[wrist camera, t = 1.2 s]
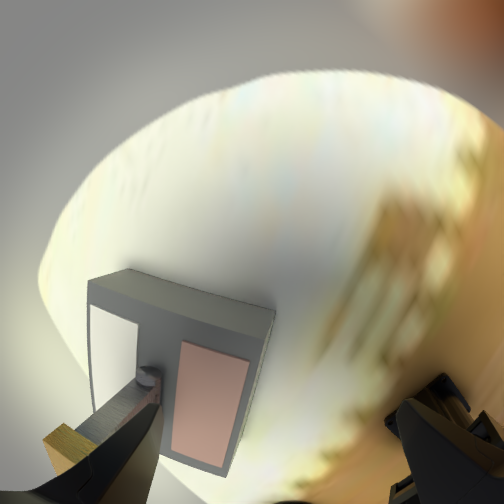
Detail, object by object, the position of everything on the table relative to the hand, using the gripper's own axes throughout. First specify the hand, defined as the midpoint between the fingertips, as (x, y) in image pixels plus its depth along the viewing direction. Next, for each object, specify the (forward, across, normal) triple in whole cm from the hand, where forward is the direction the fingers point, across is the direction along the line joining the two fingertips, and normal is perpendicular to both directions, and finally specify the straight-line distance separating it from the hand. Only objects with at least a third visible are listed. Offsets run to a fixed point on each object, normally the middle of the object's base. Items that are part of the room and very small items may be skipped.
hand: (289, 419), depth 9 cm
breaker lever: (+6, +8, +6) cm, 11 cm away
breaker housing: (+12, +6, +7) cm, 15 cm away
